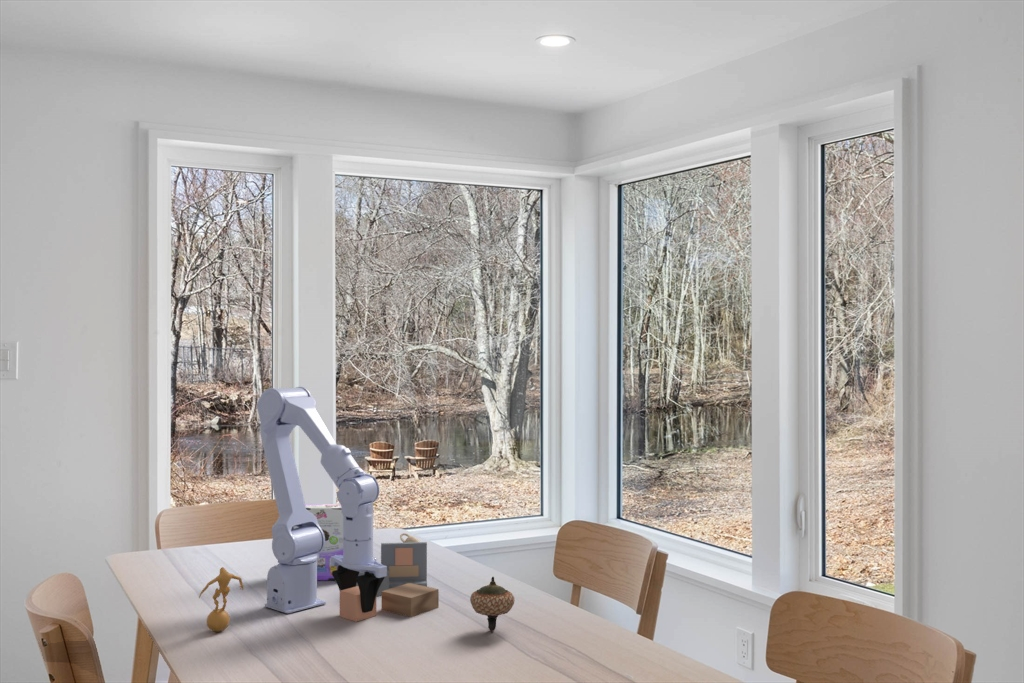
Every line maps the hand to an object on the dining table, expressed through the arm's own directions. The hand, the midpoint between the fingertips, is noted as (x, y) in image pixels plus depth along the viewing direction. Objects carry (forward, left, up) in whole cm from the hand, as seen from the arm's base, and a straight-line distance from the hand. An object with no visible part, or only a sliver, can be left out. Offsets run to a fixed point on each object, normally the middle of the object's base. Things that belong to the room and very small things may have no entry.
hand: (358, 608), depth 173 cm
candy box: (+14, +29, -2) cm, 32 cm away
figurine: (-23, +11, -2) cm, 26 cm away
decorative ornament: (+41, +29, -2) cm, 50 cm away
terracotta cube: (0, 0, -1) cm, 1 cm away
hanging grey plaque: (+22, +11, -1) cm, 25 cm away
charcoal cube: (+12, +10, -2) cm, 16 cm away
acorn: (+10, -26, -2) cm, 28 cm away
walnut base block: (+10, -4, -2) cm, 11 cm away
